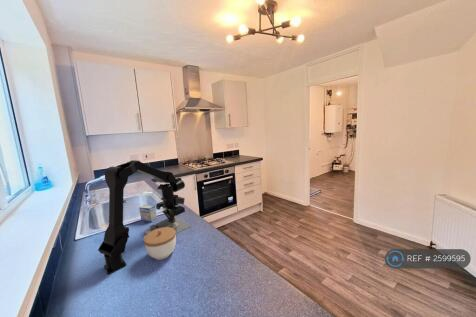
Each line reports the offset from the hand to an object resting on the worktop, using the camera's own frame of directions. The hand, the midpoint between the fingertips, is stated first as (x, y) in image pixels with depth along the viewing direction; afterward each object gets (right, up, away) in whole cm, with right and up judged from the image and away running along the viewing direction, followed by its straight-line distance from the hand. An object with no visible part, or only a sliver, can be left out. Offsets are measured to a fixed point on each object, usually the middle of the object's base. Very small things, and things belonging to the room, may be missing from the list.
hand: (172, 222), depth 104 cm
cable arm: (-4, -2, -1) cm, 5 cm away
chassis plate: (-2, -3, 0) cm, 4 cm away
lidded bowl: (+3, -7, -21) cm, 22 cm away
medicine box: (-18, -3, +12) cm, 22 cm away
